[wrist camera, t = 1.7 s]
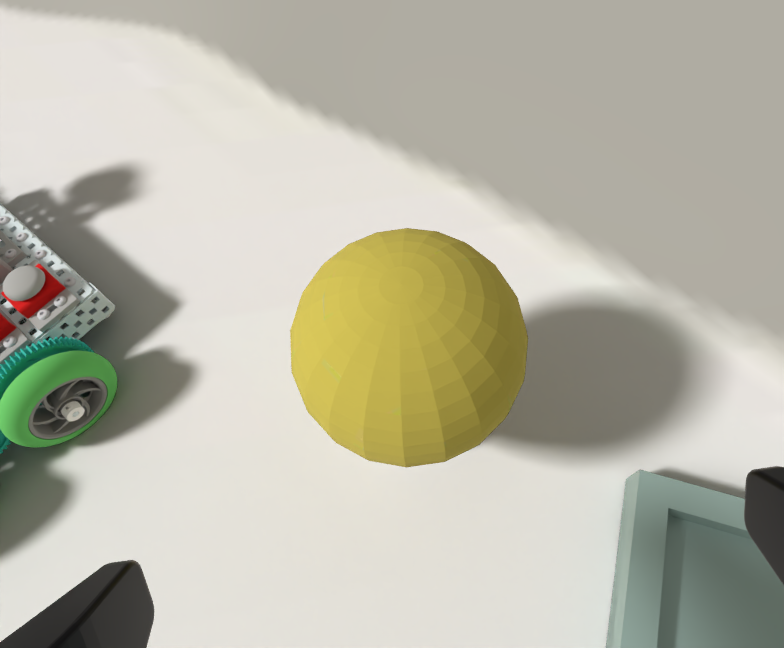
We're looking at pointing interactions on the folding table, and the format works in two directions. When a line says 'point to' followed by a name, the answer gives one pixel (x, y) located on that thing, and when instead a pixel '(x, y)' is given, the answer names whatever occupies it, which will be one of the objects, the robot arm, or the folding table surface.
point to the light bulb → (408, 347)
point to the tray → (690, 572)
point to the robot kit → (47, 344)
